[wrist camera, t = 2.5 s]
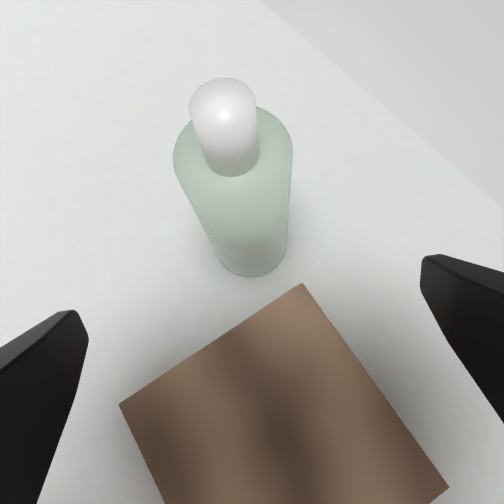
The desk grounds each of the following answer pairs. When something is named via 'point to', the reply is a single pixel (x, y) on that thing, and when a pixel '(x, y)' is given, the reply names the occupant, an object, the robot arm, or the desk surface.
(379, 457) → the walnut board
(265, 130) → the sage bottle
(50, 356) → the robot arm
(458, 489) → the desk surface
